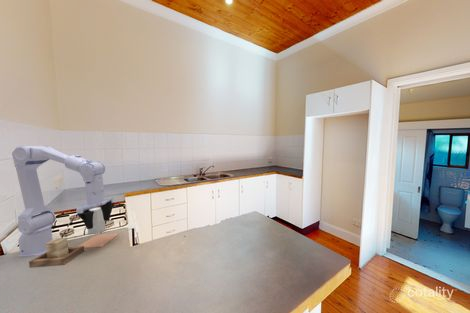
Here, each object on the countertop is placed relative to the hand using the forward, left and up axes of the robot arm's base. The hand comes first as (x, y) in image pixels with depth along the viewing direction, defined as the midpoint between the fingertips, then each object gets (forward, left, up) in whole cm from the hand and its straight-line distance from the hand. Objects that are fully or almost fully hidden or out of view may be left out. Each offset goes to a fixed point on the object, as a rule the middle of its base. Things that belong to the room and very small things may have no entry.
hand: (98, 224), depth 74 cm
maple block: (-11, -7, -9) cm, 16 cm away
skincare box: (-14, +16, -10) cm, 24 cm away
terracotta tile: (-5, +5, -10) cm, 12 cm away
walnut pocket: (-11, -7, -10) cm, 16 cm away
